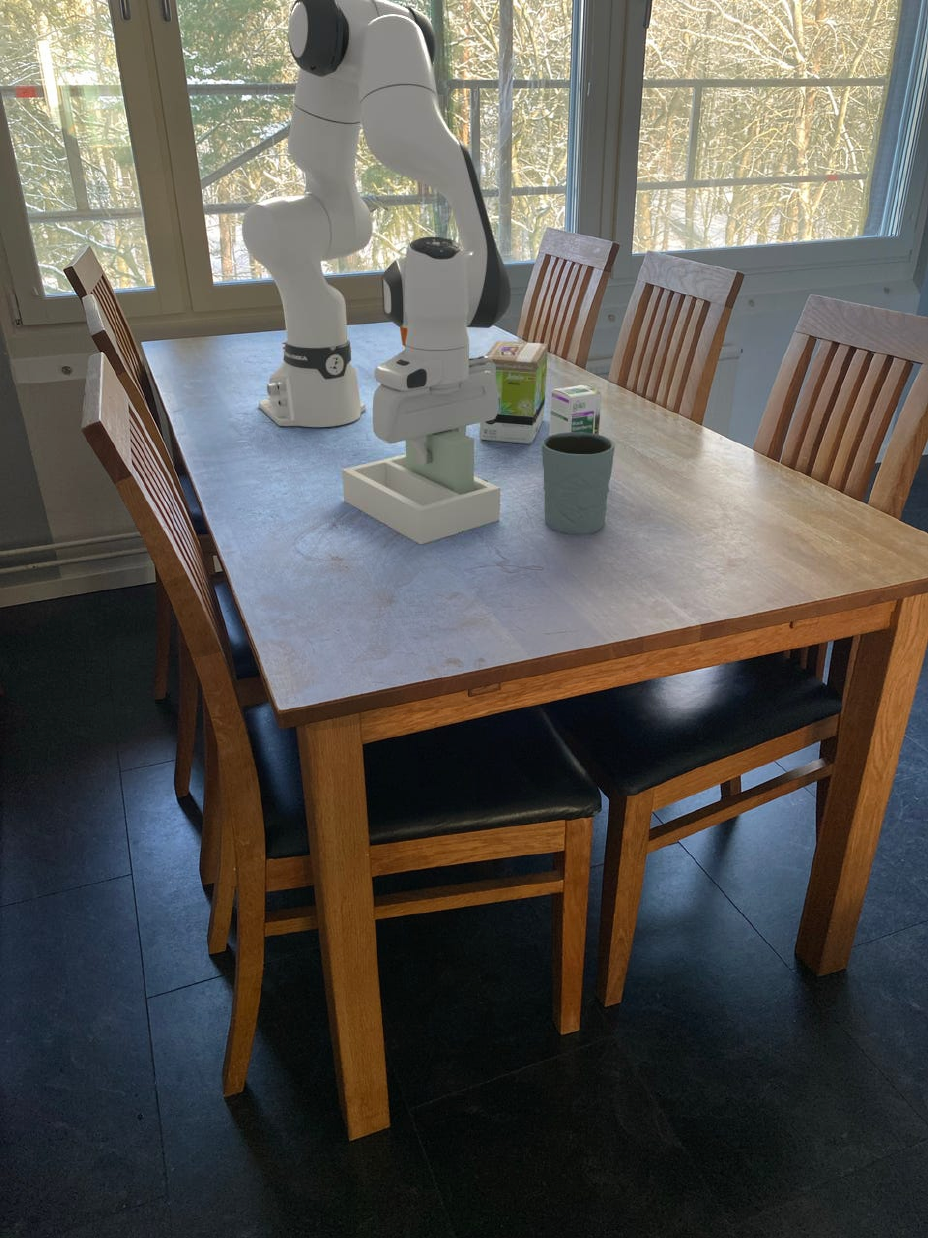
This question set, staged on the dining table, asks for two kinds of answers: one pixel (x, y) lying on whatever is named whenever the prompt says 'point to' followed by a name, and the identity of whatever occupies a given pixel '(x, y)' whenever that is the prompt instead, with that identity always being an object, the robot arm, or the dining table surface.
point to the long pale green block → (446, 461)
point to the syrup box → (575, 410)
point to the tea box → (517, 391)
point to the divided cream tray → (418, 500)
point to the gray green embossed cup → (576, 481)
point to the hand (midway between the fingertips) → (438, 459)
